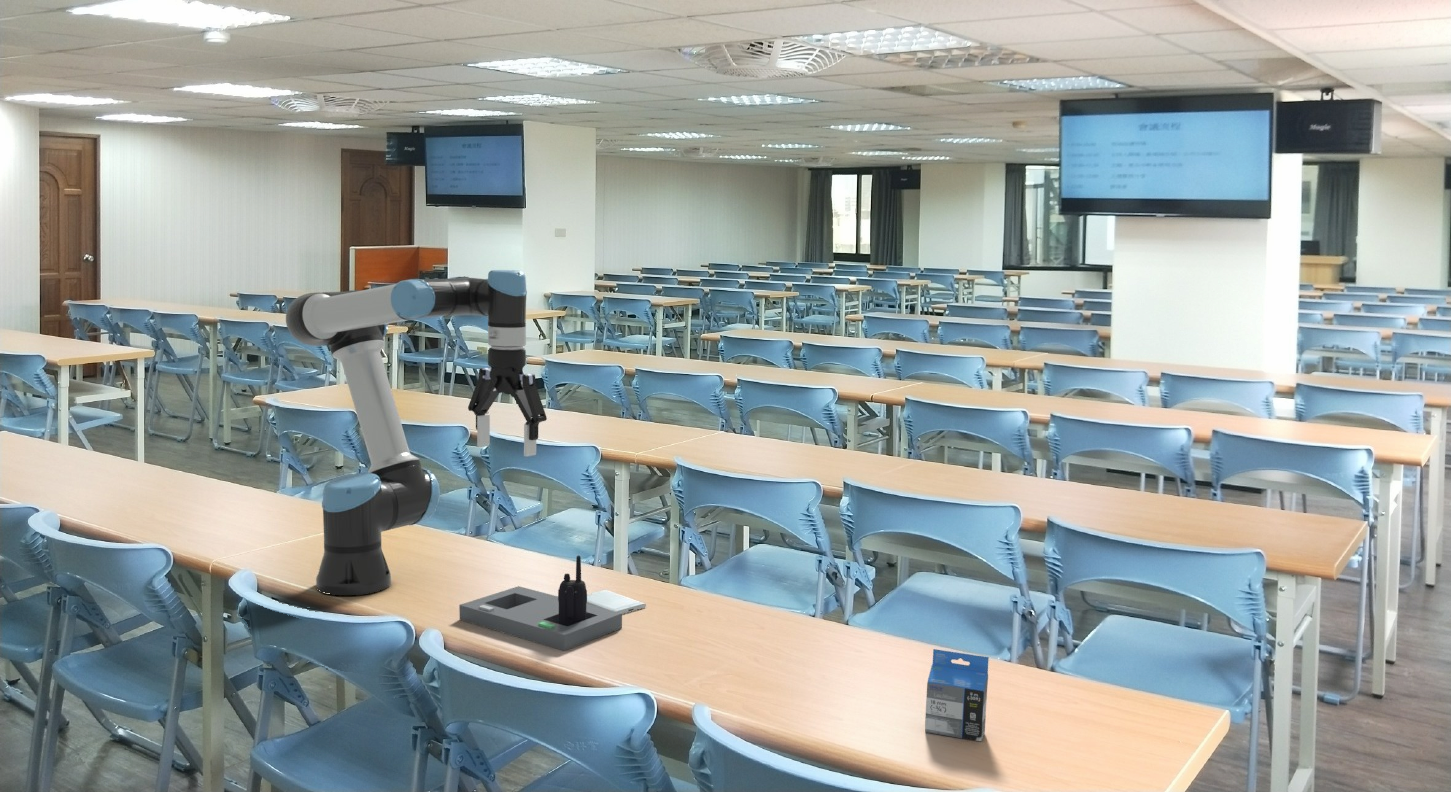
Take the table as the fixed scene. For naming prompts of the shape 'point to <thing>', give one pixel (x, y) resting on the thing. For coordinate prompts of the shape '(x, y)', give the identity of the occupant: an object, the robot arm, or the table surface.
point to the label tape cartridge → (957, 695)
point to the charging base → (538, 618)
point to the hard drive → (613, 602)
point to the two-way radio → (572, 598)
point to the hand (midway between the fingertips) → (506, 451)
